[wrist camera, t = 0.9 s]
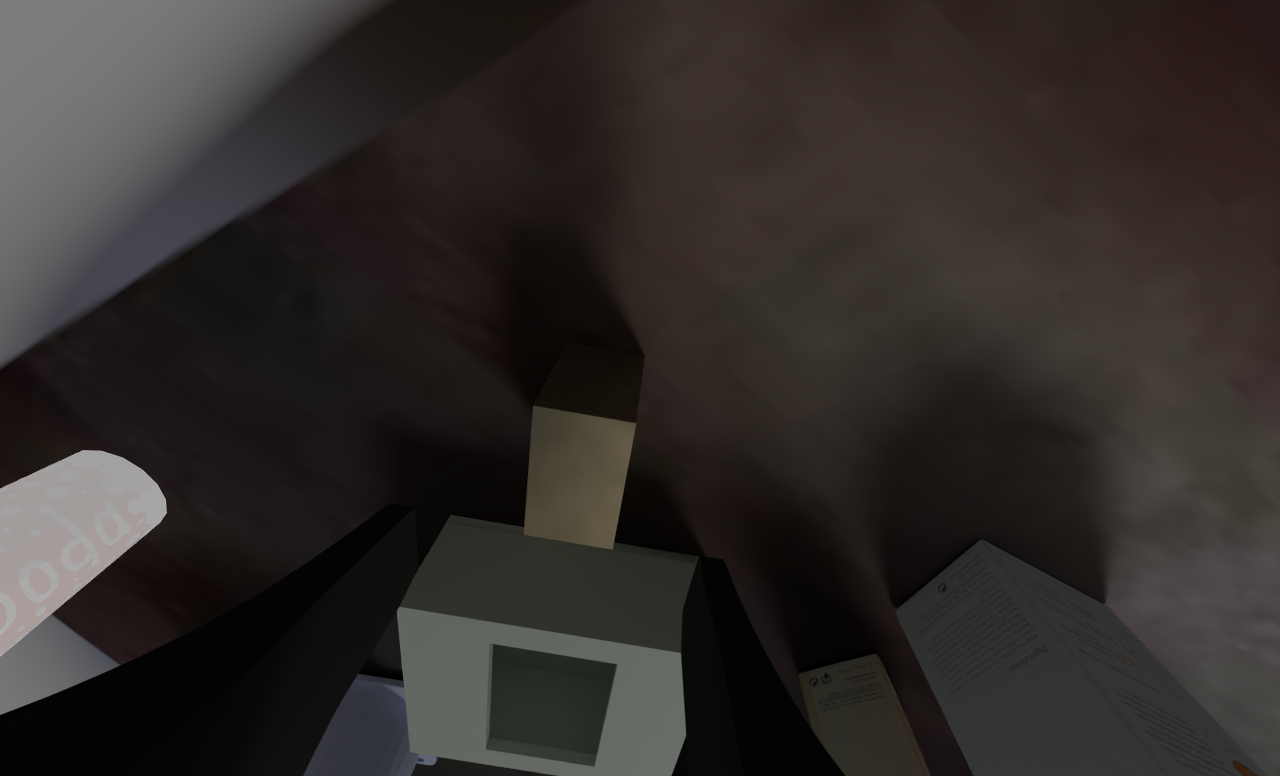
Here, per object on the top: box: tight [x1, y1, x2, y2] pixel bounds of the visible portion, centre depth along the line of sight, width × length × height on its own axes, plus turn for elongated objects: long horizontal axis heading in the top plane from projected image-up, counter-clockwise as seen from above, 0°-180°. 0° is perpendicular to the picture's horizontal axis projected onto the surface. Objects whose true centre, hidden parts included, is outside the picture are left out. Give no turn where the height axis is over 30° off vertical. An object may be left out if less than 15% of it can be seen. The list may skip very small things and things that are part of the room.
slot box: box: [397, 515, 698, 776], centre depth 23 cm, size 12×10×5 cm
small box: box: [895, 540, 1267, 776], centre depth 19 cm, size 8×6×10 cm
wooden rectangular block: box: [524, 342, 645, 550], centre depth 18 cm, size 3×5×5 cm, turn 171°
